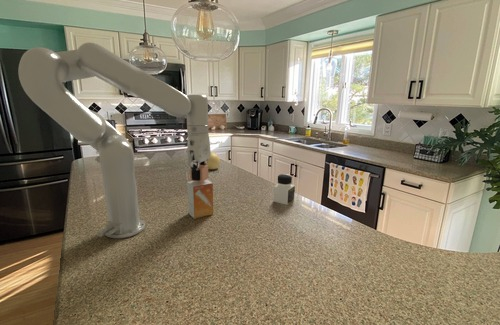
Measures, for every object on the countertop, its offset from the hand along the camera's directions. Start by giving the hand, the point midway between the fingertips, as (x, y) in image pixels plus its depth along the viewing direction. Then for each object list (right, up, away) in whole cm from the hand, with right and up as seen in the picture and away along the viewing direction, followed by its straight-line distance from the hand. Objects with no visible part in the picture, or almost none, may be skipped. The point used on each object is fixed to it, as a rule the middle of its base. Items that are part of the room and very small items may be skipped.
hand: (199, 177), depth 98 cm
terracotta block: (0, -1, 0) cm, 1 cm away
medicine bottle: (+34, -12, +17) cm, 40 cm away
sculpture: (-6, +2, +68) cm, 68 cm away
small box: (0, -15, +4) cm, 15 cm away
